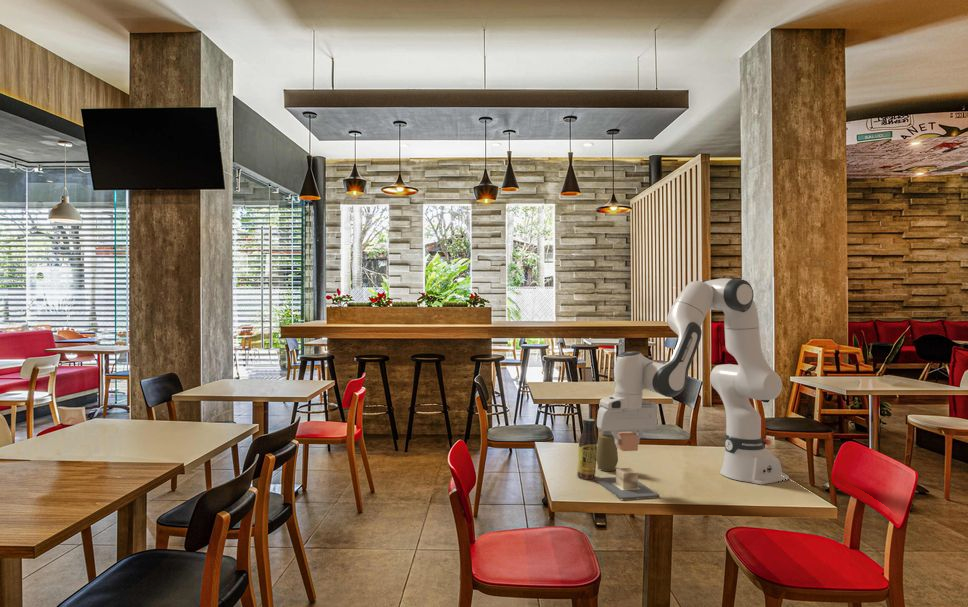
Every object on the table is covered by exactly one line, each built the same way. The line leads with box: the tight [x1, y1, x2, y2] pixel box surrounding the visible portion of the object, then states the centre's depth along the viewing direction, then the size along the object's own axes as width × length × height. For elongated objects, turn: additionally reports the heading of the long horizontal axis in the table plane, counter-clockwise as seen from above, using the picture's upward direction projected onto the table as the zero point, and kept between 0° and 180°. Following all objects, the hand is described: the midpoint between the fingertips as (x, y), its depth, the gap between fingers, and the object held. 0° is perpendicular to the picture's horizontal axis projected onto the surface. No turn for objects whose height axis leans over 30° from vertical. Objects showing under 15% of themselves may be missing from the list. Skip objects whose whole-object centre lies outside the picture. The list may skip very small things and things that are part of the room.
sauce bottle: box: [576, 418, 598, 480], centre depth 181 cm, size 6×6×20 cm
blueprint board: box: [595, 476, 660, 500], centre depth 170 cm, size 13×18×1 cm
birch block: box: [615, 467, 639, 489], centre depth 170 cm, size 5×5×5 cm
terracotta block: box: [616, 431, 639, 452], centre depth 170 cm, size 5×5×5 cm
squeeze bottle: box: [596, 430, 619, 472], centre depth 190 cm, size 8×8×18 cm
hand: (626, 443), depth 170 cm, fingers closed on terracotta block, 5 cm apart
